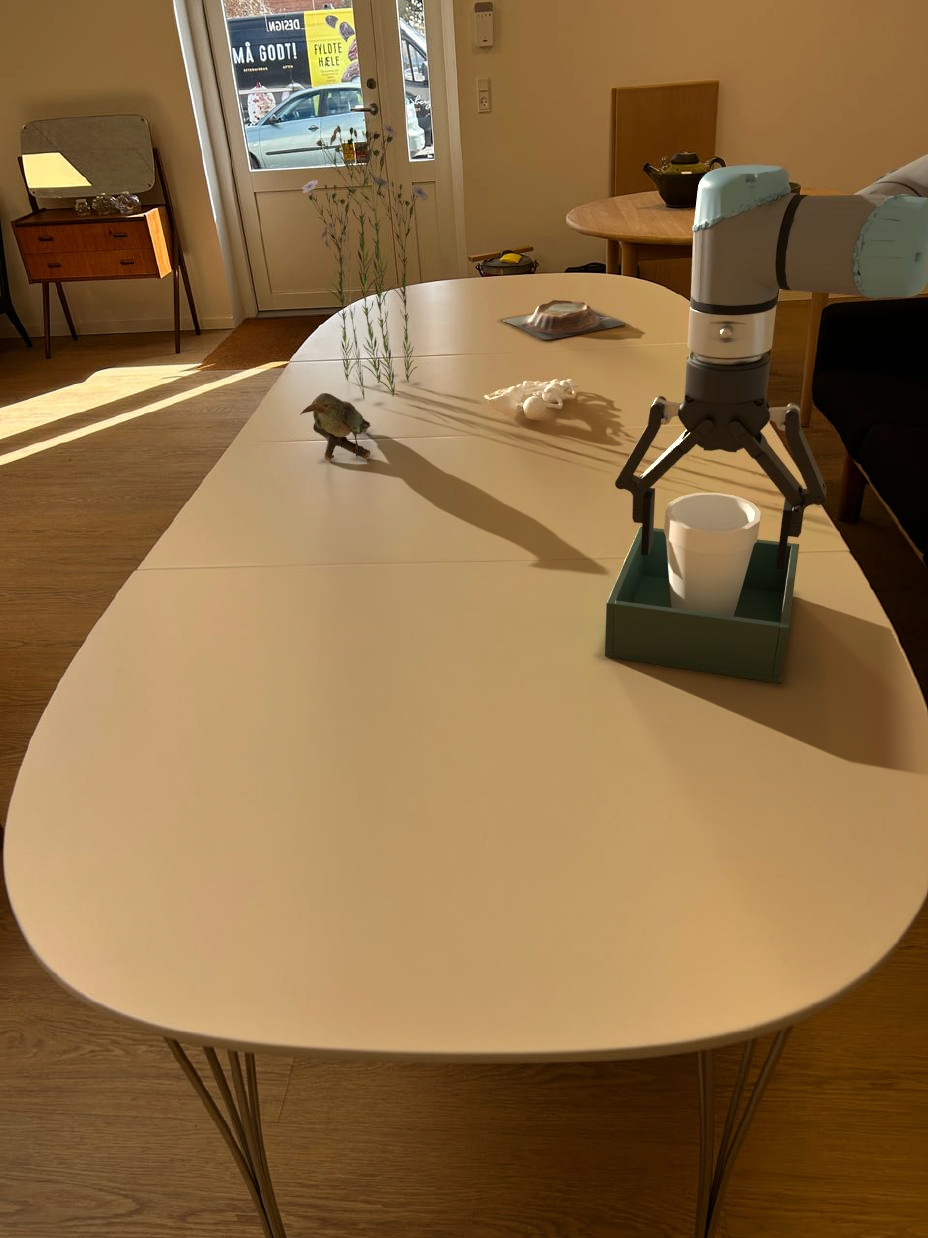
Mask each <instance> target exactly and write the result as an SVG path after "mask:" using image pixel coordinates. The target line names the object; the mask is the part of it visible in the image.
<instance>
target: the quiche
mask: <svg viewBox="0 0 928 1238" xmlns="http://www.w3.org/2000/svg"><path fill="white" fill-rule="evenodd" d="M501 321H502V322H504V323H507V324H510V325H512V326H514V327H517V328H519V329H521V330H523V331H524V332H527V333H529V334H531V335H532V336H534V337H536V338H537V339H541V340H543V341H544V340H555V339H562V338H566V337H572V336H577V335H582V334H587V333H592V332H597V331H601V330H605V329H610V328H614V327H619V326H624V325H627V322H625V321H622V320H618V319H616V318H611V317H608V316H605V315H603V314H601V313H599V312H597V311H595V310H593V309H592V308H591V307H590V305H588V304H586V303H585V302H584V301H580V300H577V301H572V300H565V299H564V300H561V299H560V300H559V299H552V300H551V301H548V302H546V303H541V304H540V305H538V306H537V308H536V309H535V311H534V313H531V314H526V315H522V316H517V317H511V318H506V319H502V320H501Z"/></svg>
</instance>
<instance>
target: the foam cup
mask: <svg viewBox="0 0 928 1238" xmlns="http://www.w3.org/2000/svg"><path fill="white" fill-rule="evenodd" d="M761 515H762V511H761V510H760V509H759V508H758V507H757V505H756V504H754V502H752V501H749V500H747V499H745V498H743V497H741V496H738V495H732V494H727V493H721V492H695V493H694V492H693V493H690V494H684V495H680V496H678V497H677V498H675V499H673V500H671V501H670V502H668V503H667V506H666V509H665V511H664V522H663V523H664V524H663V529H664V533H665V535H666V542H667V556H668V569H669V583H670V596H671V608H675V609H682V610H689V611H697V612H704V613H711V614H719V615H726V616H734V614H735V610H736V607H737V603H738V600H739V596H740V592H741V589H742V585H743V582H744V578H745V575H746V571H747V567H748V564H749V560H750V557H751V553H752V550H753V546H754V544H755V543H756V542H757V539H758V537H759V531H760V525H761V524H760V523H761Z"/></svg>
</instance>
